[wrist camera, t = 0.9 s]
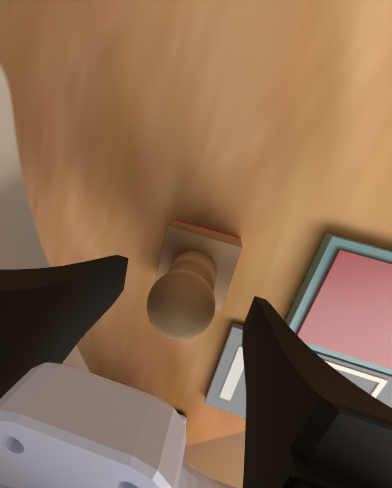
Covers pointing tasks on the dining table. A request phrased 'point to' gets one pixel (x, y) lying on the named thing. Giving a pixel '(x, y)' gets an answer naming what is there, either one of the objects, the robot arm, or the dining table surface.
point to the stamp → (191, 279)
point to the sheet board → (234, 388)
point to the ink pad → (347, 303)
